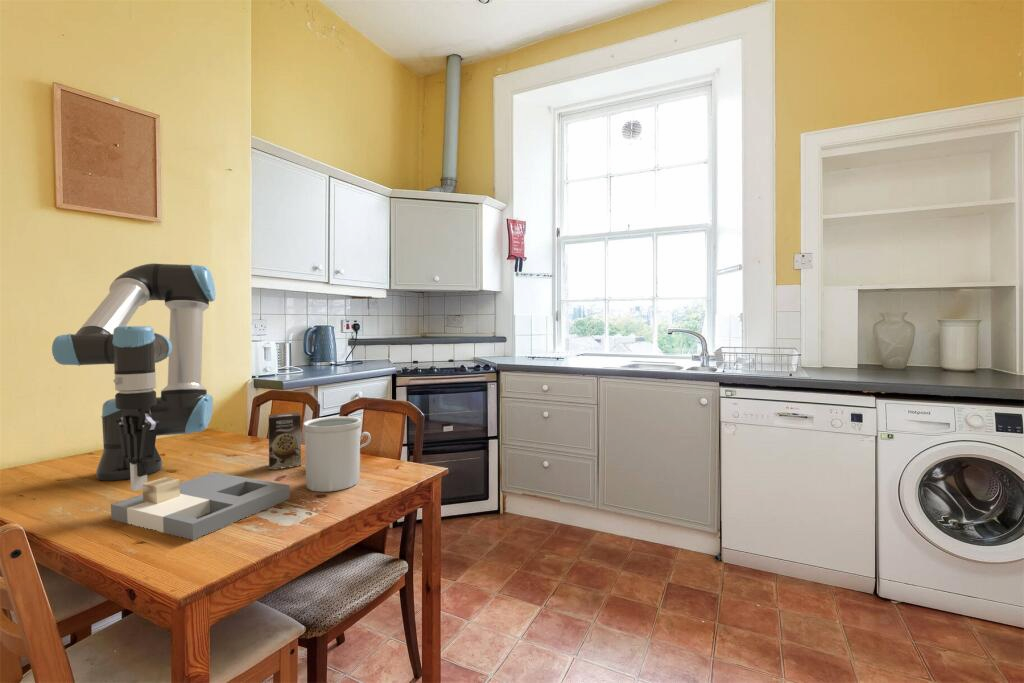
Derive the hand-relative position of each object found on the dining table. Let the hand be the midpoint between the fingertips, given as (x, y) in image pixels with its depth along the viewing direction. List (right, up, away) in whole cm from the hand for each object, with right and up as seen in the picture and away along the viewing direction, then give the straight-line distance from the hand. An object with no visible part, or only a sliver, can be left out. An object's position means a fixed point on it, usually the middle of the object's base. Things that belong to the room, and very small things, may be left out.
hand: (139, 488), depth 109 cm
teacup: (+37, -4, +35) cm, 51 cm away
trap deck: (+15, -5, +1) cm, 16 cm away
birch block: (+7, -2, -2) cm, 8 cm away
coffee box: (+18, -4, +34) cm, 39 cm away
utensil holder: (+40, -4, +18) cm, 44 cm away
